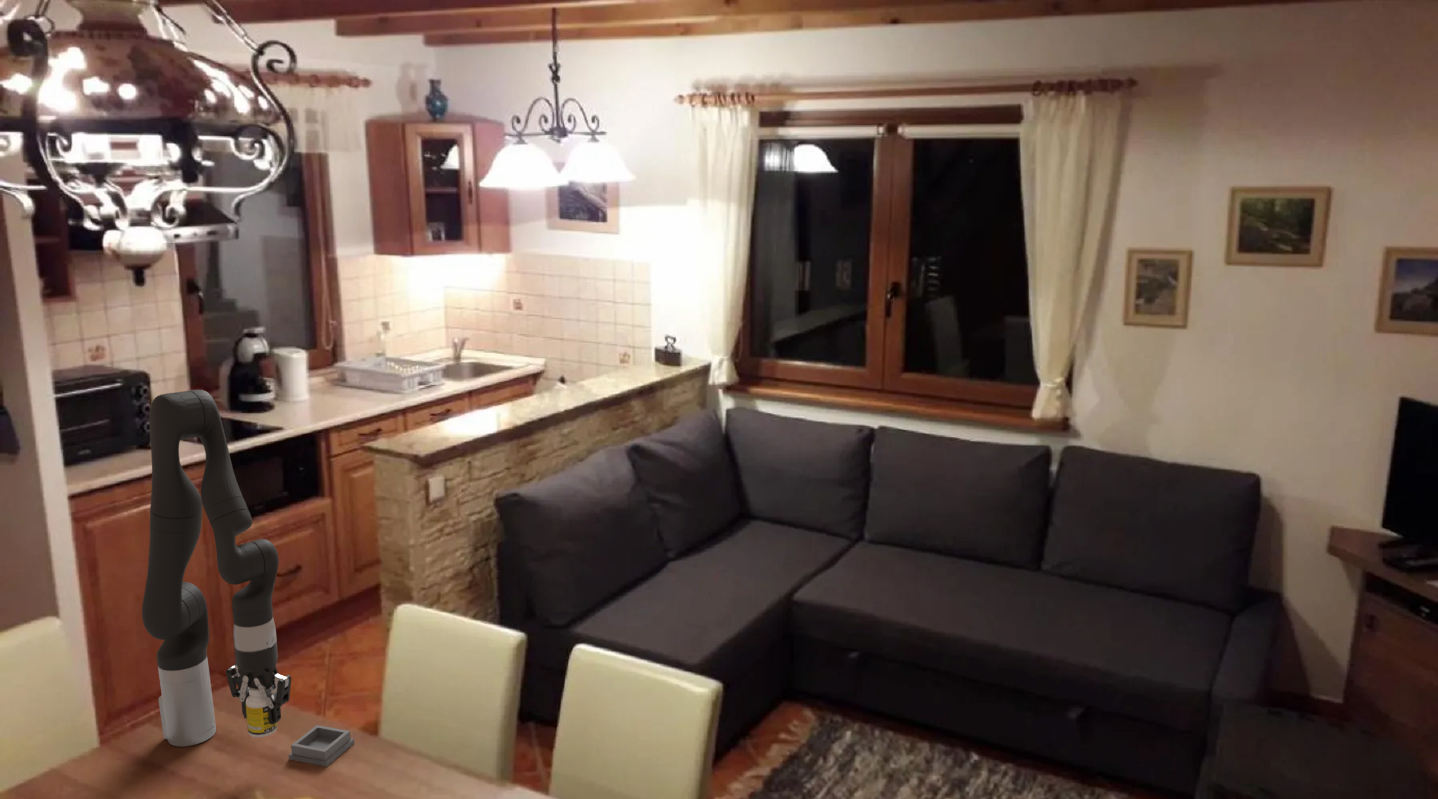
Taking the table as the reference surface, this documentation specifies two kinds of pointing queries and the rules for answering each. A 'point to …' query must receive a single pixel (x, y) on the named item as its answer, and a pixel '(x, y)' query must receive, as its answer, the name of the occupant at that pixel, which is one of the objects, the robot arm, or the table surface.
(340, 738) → the square open box
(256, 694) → the supplement bottle
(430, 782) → the table surface
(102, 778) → the table surface
